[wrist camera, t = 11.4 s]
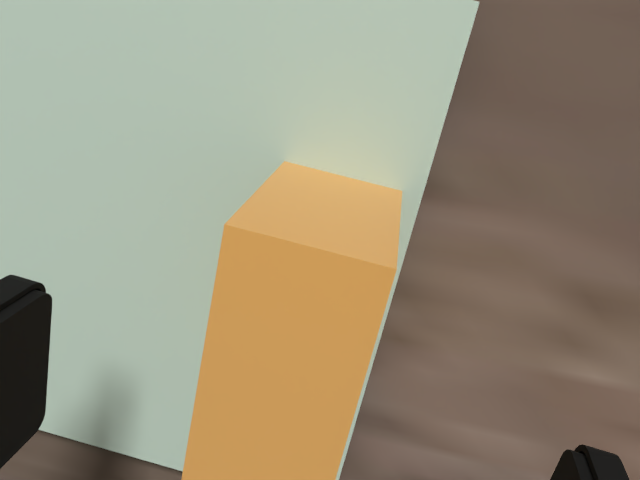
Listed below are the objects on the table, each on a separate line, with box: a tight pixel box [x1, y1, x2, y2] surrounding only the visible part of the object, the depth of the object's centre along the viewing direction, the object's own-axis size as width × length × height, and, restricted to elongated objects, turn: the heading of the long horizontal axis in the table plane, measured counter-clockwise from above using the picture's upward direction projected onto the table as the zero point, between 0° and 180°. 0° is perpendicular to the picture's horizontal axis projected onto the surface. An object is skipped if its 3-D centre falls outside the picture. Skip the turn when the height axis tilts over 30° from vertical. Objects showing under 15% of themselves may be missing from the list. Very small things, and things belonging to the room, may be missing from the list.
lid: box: [0, 0, 479, 480], centre depth 14 cm, size 13×15×7 cm
